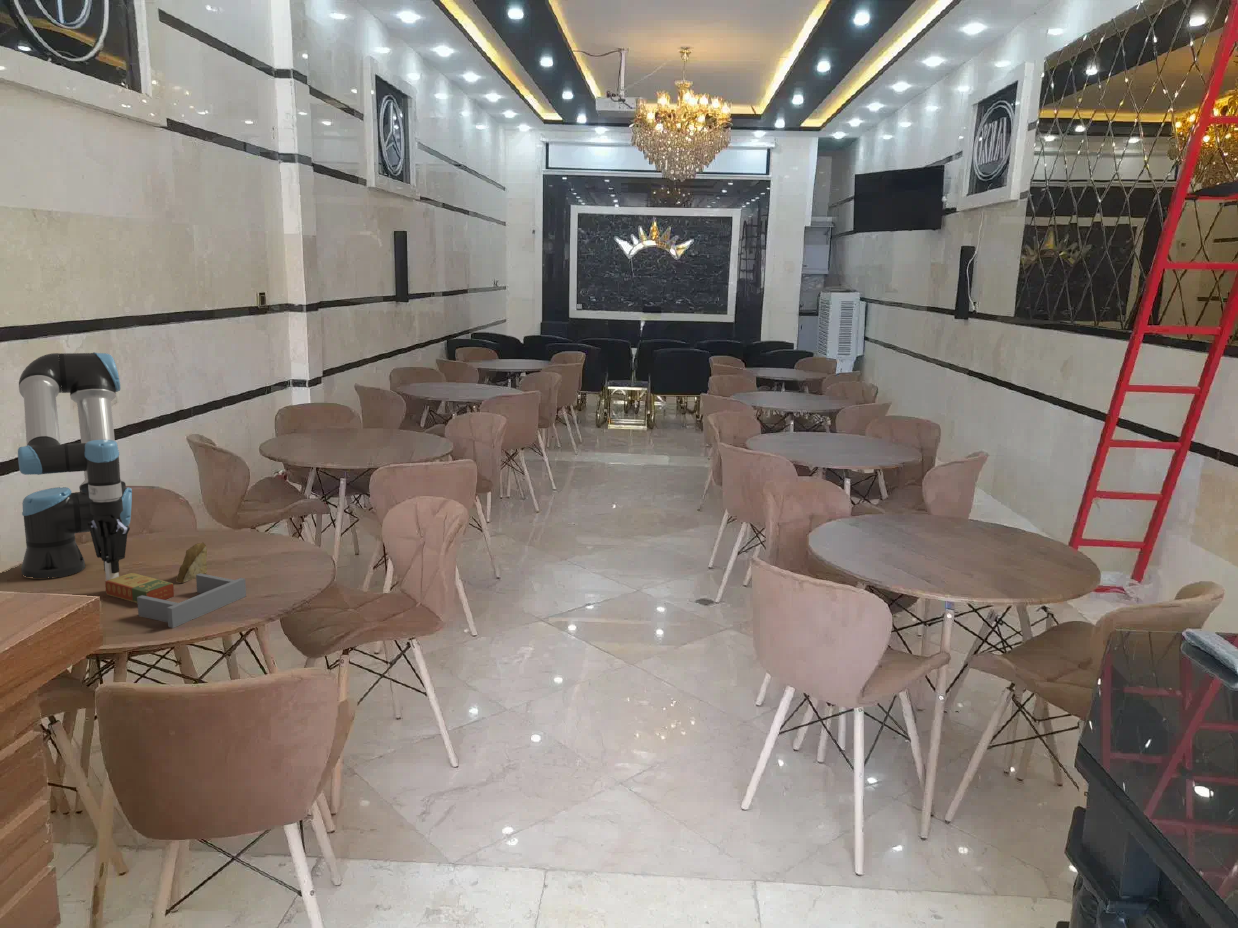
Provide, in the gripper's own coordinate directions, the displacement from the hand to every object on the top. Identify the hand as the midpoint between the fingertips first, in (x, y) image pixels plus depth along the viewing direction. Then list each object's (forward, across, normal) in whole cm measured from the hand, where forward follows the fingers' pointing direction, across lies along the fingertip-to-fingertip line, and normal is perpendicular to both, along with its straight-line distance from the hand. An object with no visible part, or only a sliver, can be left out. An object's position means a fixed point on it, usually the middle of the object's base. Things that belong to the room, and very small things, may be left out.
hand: (112, 583), depth 232 cm
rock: (+2, +9, +17) cm, 20 cm away
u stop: (+2, +27, 0) cm, 27 cm away
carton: (+3, +9, +1) cm, 9 cm away
